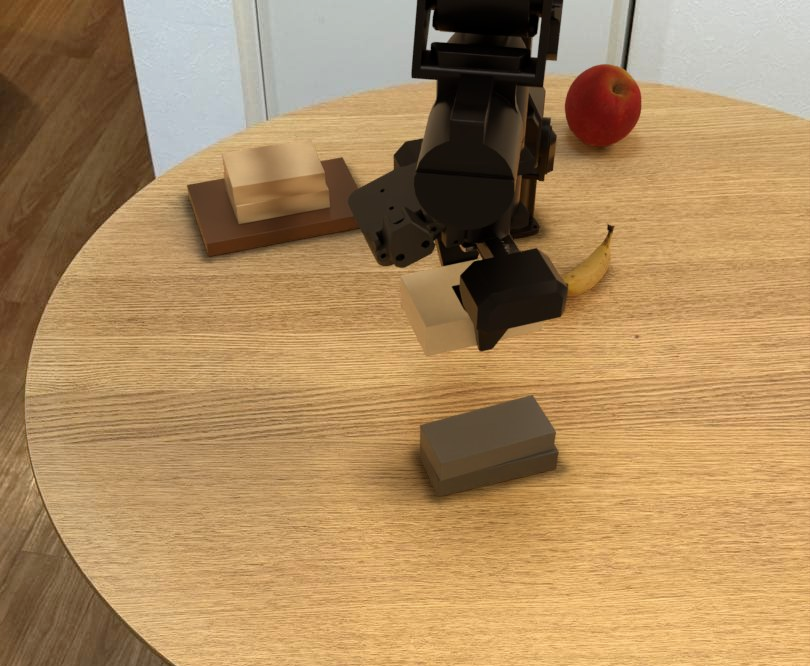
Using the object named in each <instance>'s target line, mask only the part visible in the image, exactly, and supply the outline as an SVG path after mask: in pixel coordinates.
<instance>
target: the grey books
mask: <svg viewBox="0 0 810 666" xmlns="http://www.w3.org/2000/svg"><path fill="white" fill-rule="evenodd" d="M556 437H557V431H556V429H555V427H554V425H553V424H552V423H551V421H550V420H549V418H548V416H547V415H546V413H545V412H544V410H543V409H542V407H541V405H540V404H539V402H538V400H537V399H536V398H535V396H534V395H533V394H531V395H526V396H523V397H519V398H514V399H511V400H508V401H504V402H500V403H496V404H494V405H489V406H485V407H481V408H478V409H474V410H469V411H467V412H463V413H459V414H456V415H452V416H449V417H444V418H440V419H438V420H433V421H429V422H426V423H423V424H420V425H419V458H420V461H421V463H422V466H423V468H424V470H425V472H426V474H427V476H428V478H429V481H430V484H431V485H432V488H433V490H434V492H435V495H436V496H437V497H438V498H439V497H444V496H448V495H452V494H453V495H454V494H457V493H461V492H466V491H469V490H473V489H477V488H481V487H486V486H489V485H494V484H498V483H499V484H500V483H502V482H506V481H507V482H508V481H511V480H515V479H519V478H523V477H527V476H532V475H536V474H540V473H544V472H548V471H552V470H556V469H557V466H558V460H559V459H558V458H559V450H558V447H557V446H556V445H555V442H556Z"/></svg>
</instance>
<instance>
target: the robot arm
mask: <svg viewBox="0 0 810 666" xmlns="http://www.w3.org/2000/svg"><path fill="white" fill-rule="evenodd" d="M415 7H416V8H415V21H414V32H413V47H412V56H411V57H412V59H411V74H410V76H411V79H416V80H431V81H435V82H436V85H435V86H436V87H435V89H436V90H435V91H436V92H435V100H434V103H433V104H432V107H431V109H430V111H429V114H428V118H427V122H426V126H425V130H424V134H423V137H422V138H417V139H411V140H406V141H404V142H403V144H402V145H401V146H400V147H399V148H398V149H397V150H396V151H395V153H394V154H393V169H392V170H390V171H388V172H387V173H385V174H383V175H381V176H379V177H377V178H375V179H373V180H372V181H370V182H368V183H366V184H363V185H362V186H360V187H358V189H357V190H355V191H354V192H353V193H352V194H351V195H350V196H349V198H348V205H349V207H350V209H351V211H352V213H353V215H354V218H355V220H356V222H357V224H358V226H359V228H358V229H359V230H360V231H361V234H362V237H364V240H365V241H366V245H367V246H368V247H369V249H370V251H371V254H372V255H373V257H374V260H375V261H376V263H377V264H378V265H379V266H380V267H392V266H395V268H399V269H404V268H407V267H409V266H412V265H413V264H415V263H417V262H419V261H421V260H423V259H425V258H427V257H428V256H431V254H433V253H434V251H435V248H436V251H437V255H438V259H439V263H440V267H443V266H447V265H452V264H457V263H462V262H466V261H471V260H476V259H479V256H480V259H481V258H482V260H478V261H474V262H473V263H472V264H471V265H470V266H469V267H468V268H467V269H466V270H465V271H464V272H463V273H462V274H461V275H460V285H455V286H452V289H453V291H454V292H455V294H456V296H457V298H458V300H459V302H460V303H461V305H462V307H463V309H464V310H465V311H466V312H467V313H468V315H469V317H470V319H471V321H472V322H473V324H474V330H475V337H476V342H477V345H476V349H478V351H479V352H480V353H481V352H486V351H490V350H493V349H494V348H495V347H496V345H497V344H498V343H499V342H500V341H501V340H500V339H501V338H502V336H503V335H504V334H505V333H506V331H507V330H508V329H510V328H514V327H519V326H523V325H528V324H532V323H537V322H541V321H543V322H545V321H549V320H554V319H558V318H562V317H563V314H564V313H565V312H566V309H567V308H566V307H567V301H568V295H567V294H568V287H567V285H566V283H565V282H564V280H563V279H562V277H563V276H561V273H560V272H559V271H558V270H557V268H556V266H555V265H554V263H553V261H552V260H551V258H550V257H549V255H547V254H545V252H543V251H541V250H540V249H539V248H538V247H535V248H530V249H525V250H521V249H520V248H519V247H518V245H517V243H516V241H515V240H514V239H515V238H520V237H525V236H530V235H536V234H538V233H540V229H541V226H540V225H539V223H538V221H537V220H536V218H535V217H534V215H535V207H536V206H535V205H536V194H537V186H538V182H545V179H546V178H545V177H546V176H547V175H548V174H549V173H552V172H554V166H555V157H556V147H557V139H558V135H557V134H556V132H555V131H554V130H553V125H551V123H552V117H550V116H544V114H545V102H546V89H545V87H544V86H545V85H544V84H545V77H546V76H545V75H546V67H547V61H552V62H557V61H558V53H559V44H560V36H561V25H562V18H563V7H564V0H416V6H415ZM432 11H433V14H432ZM431 14H432V19H431ZM431 20H432V21H431ZM430 23H431V26H432V28H433V29H434V31H437V32H438V31H439V32H441V33H453V34H452V35H451V36H450V37H449V38H448V40H447V41H446V42H442V41H432V42H431V43H430V49H427V47H428V39H429V31H430ZM539 24H540V25H539ZM539 26H540V27H539ZM538 32H539V37H538V45H537V46H538V47H537V57H534V56H532V53H533V40H534V37H536V36H537V35H538Z"/></svg>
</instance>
